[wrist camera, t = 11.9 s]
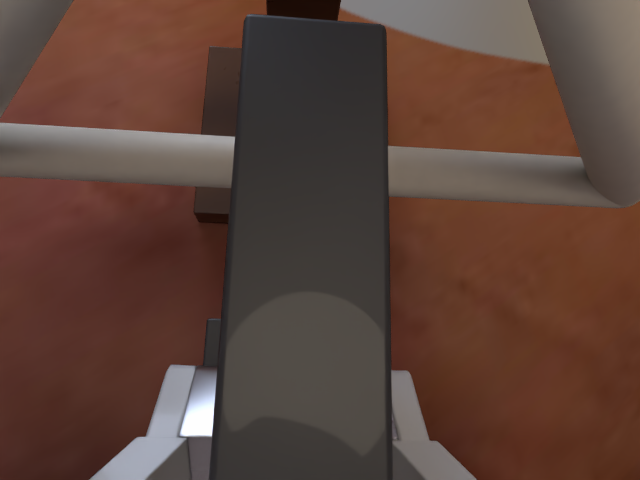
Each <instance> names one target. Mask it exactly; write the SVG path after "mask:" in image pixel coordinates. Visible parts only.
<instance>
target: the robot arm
mask: <svg viewBox="0 0 640 480" xmlns="http://www.w3.org/2000/svg"><path fill="white" fill-rule="evenodd" d="M216 377H217V366H186V365H170V367H169V368H168V370H167V371H166V374H165V378H164V381H163V384H162V387H161V390H160V393H159V396H158V400H157V403H156V406H155V409H154V412H153V415H152V418H151V421H150V425H149V428H148V431H147V434H146V437H137V438H135V439H134V440H133V441H132V442H131V443H130V444H129V445H128V446H126V447H125V448H124V449H123V450H122V451H121V452H120V453H119V454H117V455H116V456H115V457H114V458H113V459H112V460H111V461H110V462H108V463H107V464H106V465H105V466H104V467H103V468H102V469H101V470H99V471H98V472H97V473H96V474H95V475H94V476H93V477H91V478H90V479H89V480H209V468H210V455H211V442H212V429H213V416H214V403H215V390H216ZM391 379H392V447H393V480H477V479H476V478H475V477H474V476H473V475H472V474H471V473H470V472H469V471H468V470H467V469H466V468H465V467H463V466H462V465H461V464H460V463H459V462H458V461H457V460H456V459H455V458H454V457H453V456H452V455H451V454H450V453H449V452H448V451H447V450H446V449H445V448H444V447H443V446H442V445H441V444H440V443H439V442H438V441H430V440H429V437H428V433H427V430H426V426H425V423H424V419H423V416H422V412H421V409H420V405H419V402H418V398H417V395H416V391H415V388H414V384H413V381H412V377H411V374H410V373H409V372H408V371H393V370H391Z"/></svg>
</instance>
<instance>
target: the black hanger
mask: <svg viewBox="0 0 640 480" xmlns="http://www.w3.org/2000/svg"><path fill="white" fill-rule="evenodd" d="M203 366H217V377H216V390H215V403H214V416H213V429H212V442H211V455H210V468H209V480H393V447H392V379H391V311H390V243H389V176H388V108H387V40H386V29H385V27H384V26H383V25H381V24H370V23H358V22H345V21H333V20H320V19H307V18H295V17H282V16H270V15H257V14H250V15H247V16H246V18H245V20H244V27H243V40H242V53H241V66H240V79H239V92H238V104H237V117H236V130H235V143H234V156H233V169H232V182H231V195H230V208H229V221H228V234H227V247H226V260H225V273H224V286H223V299H222V312H221V319H211V318H210V319H208V320H207V325H206V337H205V349H204V361H203Z"/></svg>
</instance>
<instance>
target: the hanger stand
mask: <svg viewBox="0 0 640 480" xmlns="http://www.w3.org/2000/svg"><path fill="white" fill-rule="evenodd" d="M72 2H73V0H0V118H1V116H2V114H3V113H4V111H5V110H6V108H7V106H8V105H9V103H10V102H11V100H12V98H13V97H14V95H15V94H16V92H17V90H18V89H19V87H20V85H21V84H22V82H23V81H24V79H25V77H26V76H27V74H28V73H29V71H30V69H31V68H32V66H33V65H34V63H35V61H36V60H37V58H38V57H39V55H40V53H41V52H42V50H43V48H44V47H45V45H46V44H47V42H48V40H49V39H50V37H51V36H52V34H53V32H54V31H55V29H56V28H57V26H58V24H59V23H60V21H61V19H62V18H63V16H64V15H65V13H66V11H67V10H68V8H69V7H70V5H71V3H72ZM340 2H341V0H266V4H267V15H270V16H282V17H295V18H307V19H320V20H333V21H338V15H339V9H340ZM528 2H529V5H530V8H531V11H532V14H533V17H534V20H535V23H536V25H537V29H538V32H539V35H540V38H541V41H542V44H543V46H544V49H545V52H546V55H547V58H548V61H549V64H550V67H551V70H552V73H553V76H554V79H555V82H556V85H557V88H558V91H559V93H560V96H561V99H562V102H563V105H564V108H565V111H566V114H567V117H568V120H569V123H570V126H571V129H572V132H573V135H574V138H575V140H576V143H577V146H578V149H579V152H580V155H581V157H567V156H550V155H534V154H517V153H500V152H483V151H466V150H449V149H433V148H416V147H399V146H388V176H389V196H391V197H410V198H430V199H449V200H468V201H488V202H507V203H527V204H546V205H565V206H585V207H604V208H625V207H629V206H632V205H634V204H635V203H637V202H638V201H640V0H528ZM241 53H242V48H229V47H215V46H210V47H209V58H208V68H207V78H206V89H205V99H204V109H203V120H202V130H201V135H197V134H180V133H163V132H146V131H130V130H113V129H96V128H79V127H62V126H45V125H29V124H12V123H0V176H2V177H22V178H41V179H61V180H80V181H100V182H119V183H138V184H158V185H177V186H196V192H195V202H194V214H195V216H196V218H197V219H198V221H199V222H218V223H228V221H229V208H230V195H231V182H232V169H233V156H234V143H235V130H236V117H237V104H238V92H239V79H240V66H241Z"/></svg>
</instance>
